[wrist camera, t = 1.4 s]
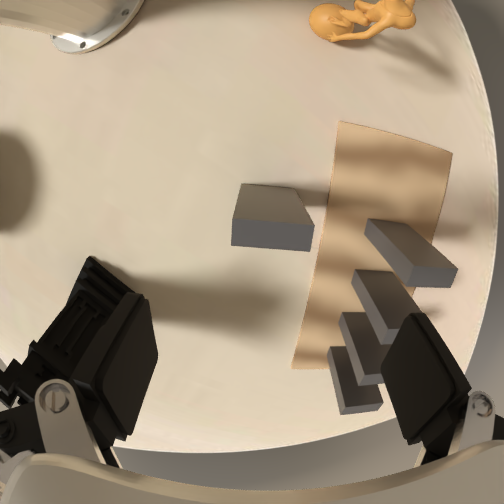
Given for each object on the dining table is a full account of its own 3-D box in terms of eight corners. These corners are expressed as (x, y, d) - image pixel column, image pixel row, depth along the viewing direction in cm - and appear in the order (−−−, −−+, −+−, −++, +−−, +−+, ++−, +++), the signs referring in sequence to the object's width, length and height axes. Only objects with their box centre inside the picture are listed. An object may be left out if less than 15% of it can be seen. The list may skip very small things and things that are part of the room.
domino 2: (367, 218, 26) (414, 265, 17) (406, 223, 26) (458, 268, 17) (363, 234, 27) (406, 286, 18) (402, 238, 27) (450, 287, 18)
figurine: (336, -4, 16) (380, -62, 5) (381, 36, 18) (449, 0, 7) (282, 40, 19) (301, -20, 8) (331, 81, 21) (388, 53, 10)
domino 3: (354, 269, 29) (388, 329, 20) (392, 271, 29) (431, 326, 20) (350, 282, 29) (380, 344, 20) (387, 284, 30) (423, 341, 21)
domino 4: (341, 311, 31) (364, 375, 22) (377, 312, 31) (406, 370, 22) (338, 323, 32) (358, 385, 23) (372, 323, 32) (398, 381, 23)
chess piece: (138, 295, 31) (68, 435, 13) (115, 326, 34) (57, 444, 16) (89, 255, 29) (-11, 373, 11) (72, 292, 32) (-5, 398, 14)
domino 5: (329, 346, 34) (345, 407, 25) (362, 345, 34) (383, 402, 25) (326, 355, 35) (340, 414, 26) (358, 354, 35) (377, 410, 26)
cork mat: (338, 121, 22) (339, 121, 22) (450, 152, 23) (452, 153, 22) (290, 366, 36) (291, 369, 36) (376, 364, 37) (377, 366, 36)
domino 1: (241, 183, 25) (232, 218, 16) (293, 188, 25) (314, 225, 16) (240, 201, 26) (231, 245, 17) (291, 206, 26) (310, 251, 17)
